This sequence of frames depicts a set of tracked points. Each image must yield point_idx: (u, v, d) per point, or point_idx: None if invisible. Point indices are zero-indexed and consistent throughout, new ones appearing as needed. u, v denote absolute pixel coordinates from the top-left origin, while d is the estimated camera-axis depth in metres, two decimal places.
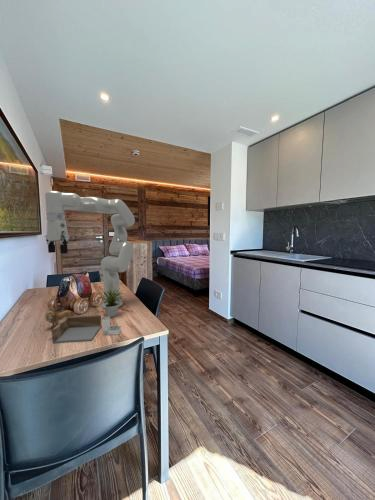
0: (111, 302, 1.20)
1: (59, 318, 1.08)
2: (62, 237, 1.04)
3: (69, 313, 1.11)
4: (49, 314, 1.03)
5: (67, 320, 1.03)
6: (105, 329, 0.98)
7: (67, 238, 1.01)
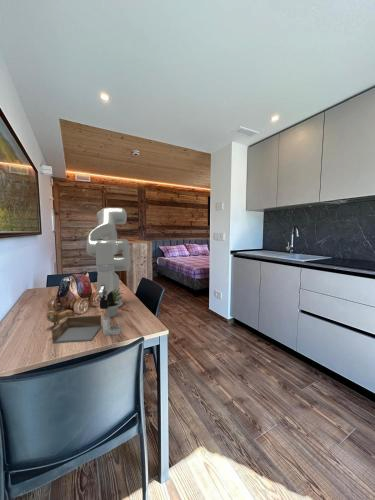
0: None
1: (60, 318, 1.08)
2: None
3: (70, 313, 1.11)
4: (50, 314, 1.04)
5: (67, 320, 1.03)
6: (105, 329, 0.98)
7: None
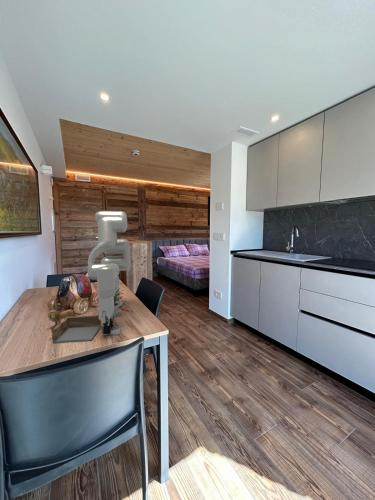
0: None
1: (62, 317, 1.09)
2: None
3: (71, 312, 1.12)
4: (52, 313, 1.04)
5: (67, 320, 1.03)
6: None
7: None
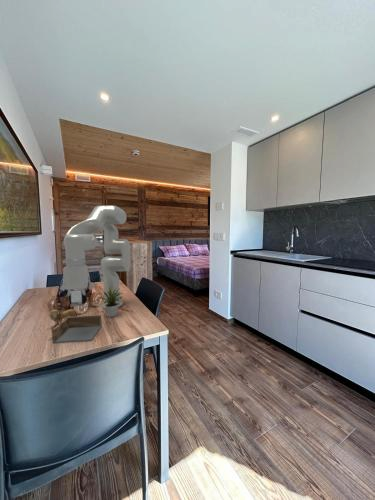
0: (111, 302, 1.20)
1: (63, 317, 1.09)
2: None
3: (73, 312, 1.13)
4: (53, 313, 1.05)
5: (67, 320, 1.03)
6: None
7: None
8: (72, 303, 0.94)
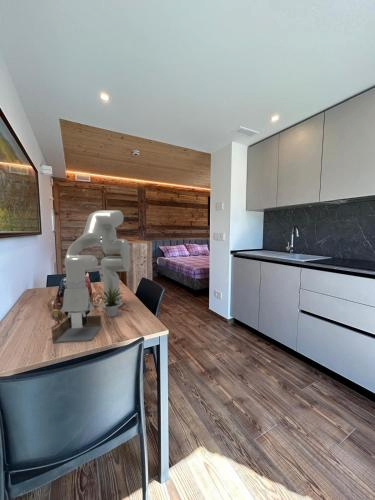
0: None
1: (64, 316, 1.10)
2: None
3: None
4: (55, 312, 1.05)
5: (67, 320, 1.03)
6: None
7: None
8: (72, 325, 0.95)
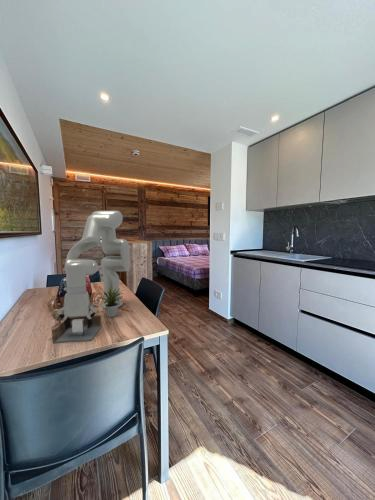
0: (111, 302, 1.20)
1: None
2: None
3: None
4: (56, 312, 1.06)
5: None
6: (83, 329, 0.97)
7: None
8: (73, 333, 0.95)
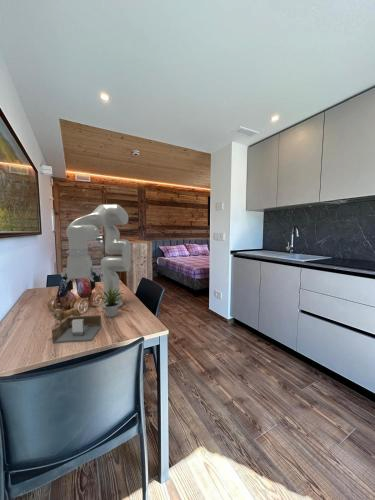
0: (111, 302, 1.20)
1: (66, 316, 1.11)
2: None
3: (76, 311, 1.14)
4: (57, 312, 1.06)
5: (67, 320, 1.03)
6: (83, 329, 0.97)
7: None
8: (73, 333, 0.95)
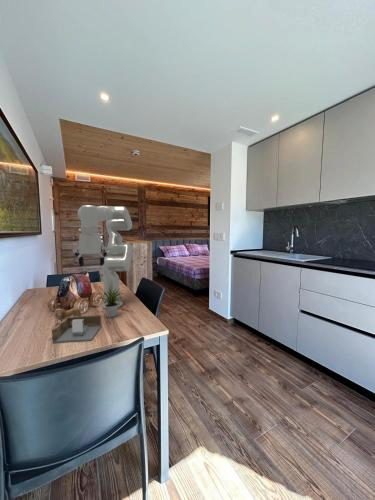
0: (111, 302, 1.20)
1: (67, 315, 1.11)
2: None
3: (76, 310, 1.14)
4: (58, 311, 1.07)
5: (67, 320, 1.03)
6: (83, 329, 0.97)
7: None
8: (73, 333, 0.95)
